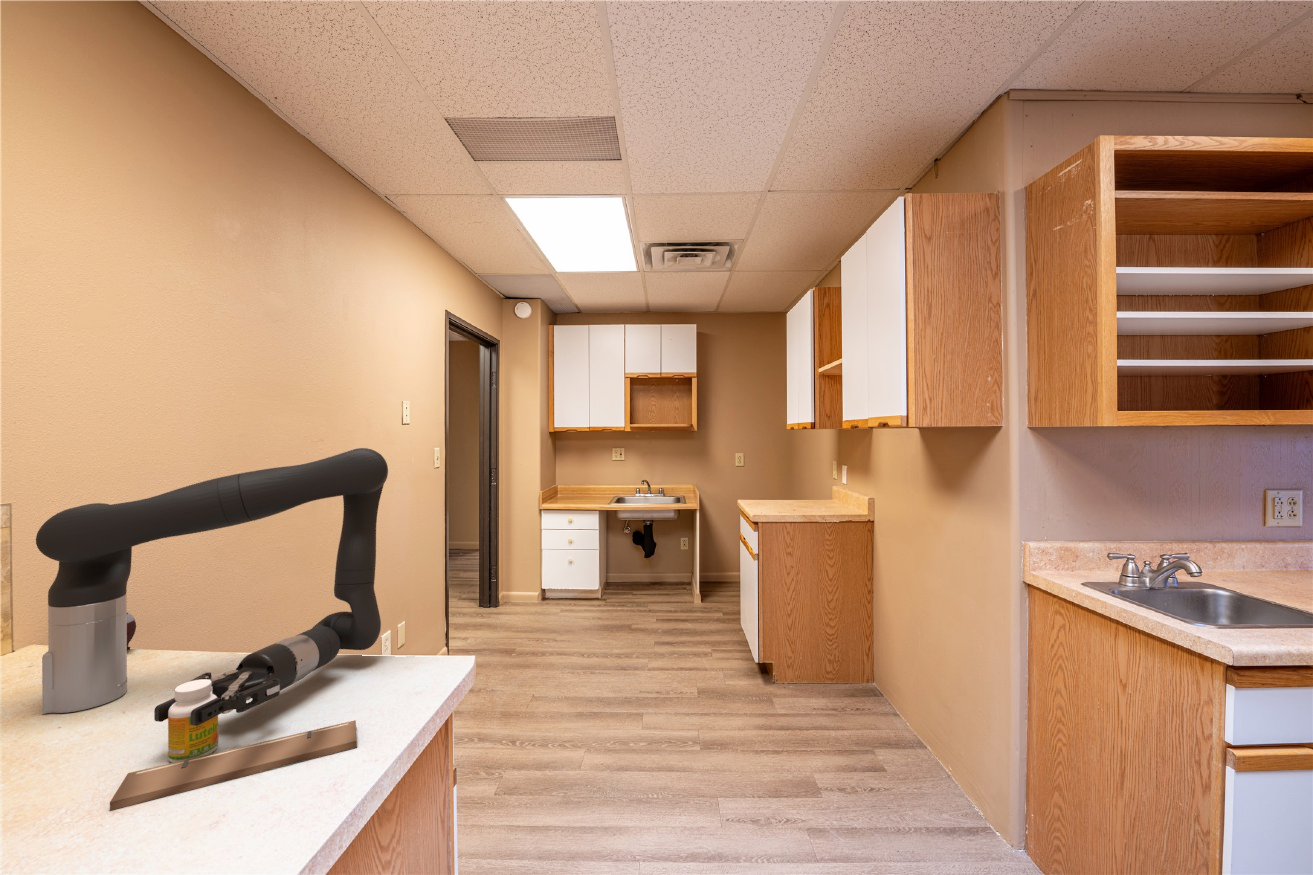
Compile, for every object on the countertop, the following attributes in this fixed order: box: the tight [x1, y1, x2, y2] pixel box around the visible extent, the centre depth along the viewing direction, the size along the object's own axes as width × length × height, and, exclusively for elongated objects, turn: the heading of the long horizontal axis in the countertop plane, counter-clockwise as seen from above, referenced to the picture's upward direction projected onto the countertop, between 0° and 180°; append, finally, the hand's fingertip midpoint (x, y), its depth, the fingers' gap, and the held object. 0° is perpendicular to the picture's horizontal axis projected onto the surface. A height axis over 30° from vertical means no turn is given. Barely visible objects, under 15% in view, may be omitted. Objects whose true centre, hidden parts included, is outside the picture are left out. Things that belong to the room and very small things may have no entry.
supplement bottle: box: [167, 679, 219, 763], centre depth 77 cm, size 5×5×10 cm
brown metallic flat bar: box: [109, 719, 358, 811], centre depth 74 cm, size 26×6×1 cm, turn 120°
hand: (175, 716), depth 74 cm, fingers closed on supplement bottle, 5 cm apart
